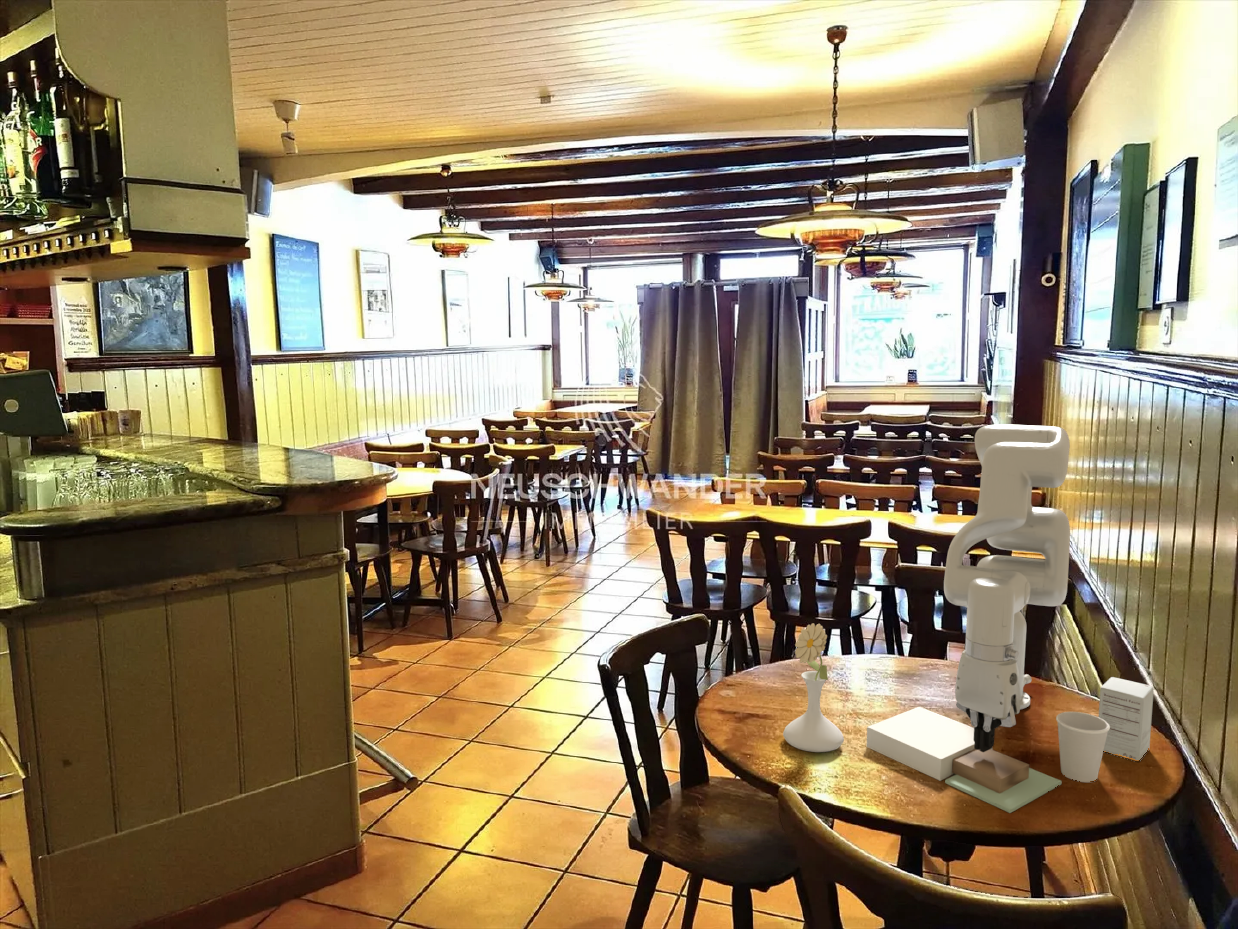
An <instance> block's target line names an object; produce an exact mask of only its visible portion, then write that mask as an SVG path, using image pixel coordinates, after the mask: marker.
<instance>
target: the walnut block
mask: <svg viewBox="0 0 1238 929" xmlns="http://www.w3.org/2000/svg"><path fill="white" fill-rule="evenodd" d="M1029 768H1030V764H1029V763H1026V762H1024V761H1021V760H1019V759H1016V758H1014V757H1011V756H1008V755H1006V754H1004V753H1002V752H999V751H996V750H994V749H993V748H992V749H989V750H987V751H985V752H981V751H980V750H976V749H973V750H971V751H969V752H967V753H965V754H963V755H961V756H959V757H956V758H954V759H953V765H952V773H954V774H953V775H959V776H961V777H963V778H966V779H968V780H970V781H972V782H975V783H977V784H979V785H981V786H984V787H986V788H988V789H990V790H993V791H995V792H997V793H999V794H1000V793H1002V792H1004V791H1006V790H1007V789H1009V788H1011V787H1013V786H1015V785H1017V784H1018V783H1020V782H1022V781H1024V780H1026V779H1028V777H1029Z"/></svg>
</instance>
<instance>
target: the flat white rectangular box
mask: <svg viewBox="0 0 1238 929" xmlns="http://www.w3.org/2000/svg"><path fill="white" fill-rule="evenodd" d="M974 743H975V742H974V727H973V726H969V725H968V724H966V723H963V722H960V721H957V720H954V719H953V718H949V717H948V716H944V715H941V714H939V713H936V712H934V711H931V710H929V709H926V708H925V707H922V706H916V707H915V708H912V709H909V710H907V711H904V712H902V713H899V714H896V715H894V716H891V717H888V718H886V719H882V720H881V721H878V722H876V723H873V724H871V725H869V726H867V727H866V747H867V748H868V749H871V750H873V751H875V752H877V753H879V754H882V755H884V756H885V757H888V758H890V759H892V760H894V761H896V762H898V763H901V764H903V765H905V766H908V767H910V768H911V769H914V770H917V771H918V772H920V773H923V774H925V775H927V776H929V777H931V778H933V779H935V780H938V781H940V782H941V781H942V780H946V779H948V778H950V777H952V776H954V775H955V774H954V773H952V765H953V759H954V758H956V757H959V756H961V755H963V754H965V753H967V752H969V751H971V750H973V749H974ZM993 747H994V746H993ZM993 747H992V748H991V749H992V750H993Z"/></svg>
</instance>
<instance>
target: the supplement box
mask: <svg viewBox="0 0 1238 929" xmlns="http://www.w3.org/2000/svg"><path fill="white" fill-rule="evenodd" d="M1154 688H1155V687H1154V686H1152V685H1148V684H1145V683H1141V682H1136V681H1132V680H1127V679H1123V678H1119V677H1114V676H1110V678H1108V679H1107V681H1105V682H1104V684H1102V685H1101V686H1100V690H1099V691H1100V692H1099V703H1098V716H1097V717H1099V718H1101V719H1103V720H1105V721H1106V722H1107V723H1108V724H1109V726H1110V729H1109V731H1108V733H1107V737H1106V742H1105V746H1104V750H1103V751H1106V752H1109V753H1112V754H1118V755H1119V754H1120V755H1122V756H1126V757H1129V758H1133V759H1135V760H1140V759H1141V758H1142V757H1143V755H1144V754H1145V753H1146V752H1147V750H1148V748H1149V749H1150V748H1151V747H1150V746H1151V745H1150V744H1151V731H1152V730H1151V729H1152V717H1153V716H1152V715H1153V702H1154V691H1155V690H1154ZM1148 751H1149V750H1148ZM1147 753H1148V752H1147ZM1147 753H1146V754H1147ZM1112 754H1111V755H1112ZM1146 754H1145V755H1146ZM1145 755H1144V756H1145ZM1143 758H1144V757H1143ZM1143 758H1142V759H1143ZM1142 759H1141V760H1142ZM1141 760H1140V761H1141Z"/></svg>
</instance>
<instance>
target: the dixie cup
mask: <svg viewBox="0 0 1238 929" xmlns="http://www.w3.org/2000/svg"><path fill="white" fill-rule="evenodd" d="M1055 719H1056V722H1057V732H1058V744H1059V745H1058V746H1059V747H1058V748H1059V759H1060V761H1059V762H1060V771H1061V773H1062V775H1063V776H1064V775H1065V776H1064V777H1066V778H1068V779H1069V780H1072V779H1073V780H1072V781H1075V780H1077V781H1076V782H1079V781H1080V783H1091V782H1090V781H1094V780H1096V779H1097V780H1098V778H1099V777H1098V776H1099V773H1100V772H1099V771H1100V769H1101V768H1100V767H1101V764H1102V758H1103V755H1104V752H1103V750H1104V746H1105V742H1106V737H1107V733H1108V731H1109V729H1110V726H1109V724H1108V723H1107V722H1106V721H1105V720H1103V719H1101V718H1099V717H1098V716H1097V715H1094V714H1090V713H1086V712H1082V711H1081V712H1080V711H1064V712H1061V713H1058V714H1057V715H1056V717H1055ZM1097 780H1096V781H1097ZM1094 782H1095V781H1094Z"/></svg>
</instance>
